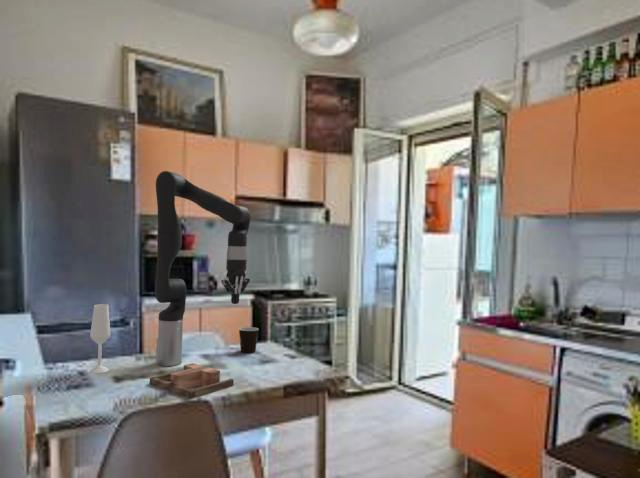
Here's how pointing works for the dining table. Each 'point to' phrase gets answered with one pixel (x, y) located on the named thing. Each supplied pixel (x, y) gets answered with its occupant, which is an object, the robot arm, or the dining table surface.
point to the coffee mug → (248, 339)
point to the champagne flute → (100, 332)
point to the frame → (162, 383)
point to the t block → (195, 376)
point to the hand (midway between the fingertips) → (235, 303)
